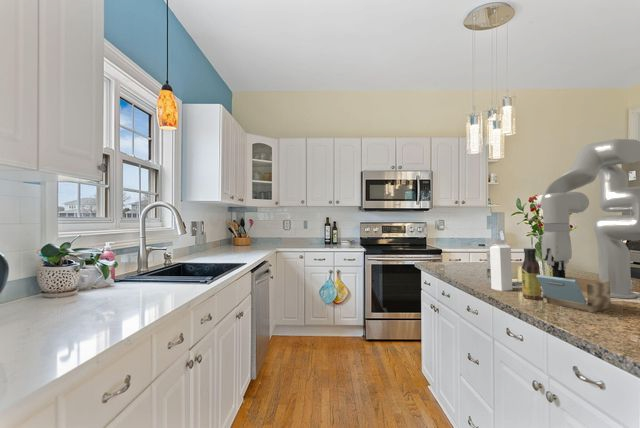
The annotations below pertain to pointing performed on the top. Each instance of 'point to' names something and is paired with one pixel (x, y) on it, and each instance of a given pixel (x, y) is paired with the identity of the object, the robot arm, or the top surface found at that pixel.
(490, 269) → the coffee box
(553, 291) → the door
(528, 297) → the sauce bottle
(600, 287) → the cabinet
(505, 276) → the milk
